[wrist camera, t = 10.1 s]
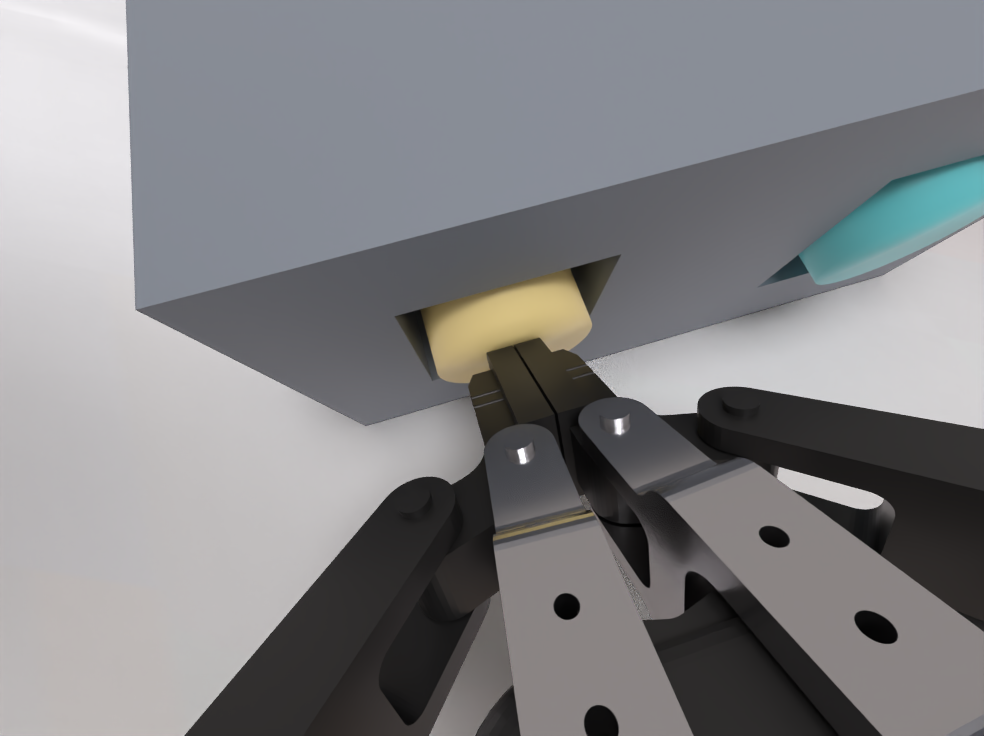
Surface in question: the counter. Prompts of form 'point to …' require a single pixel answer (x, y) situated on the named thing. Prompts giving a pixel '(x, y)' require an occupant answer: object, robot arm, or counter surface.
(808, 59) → the console
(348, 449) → the counter surface
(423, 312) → the mustard button
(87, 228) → the counter surface
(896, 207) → the teal button
